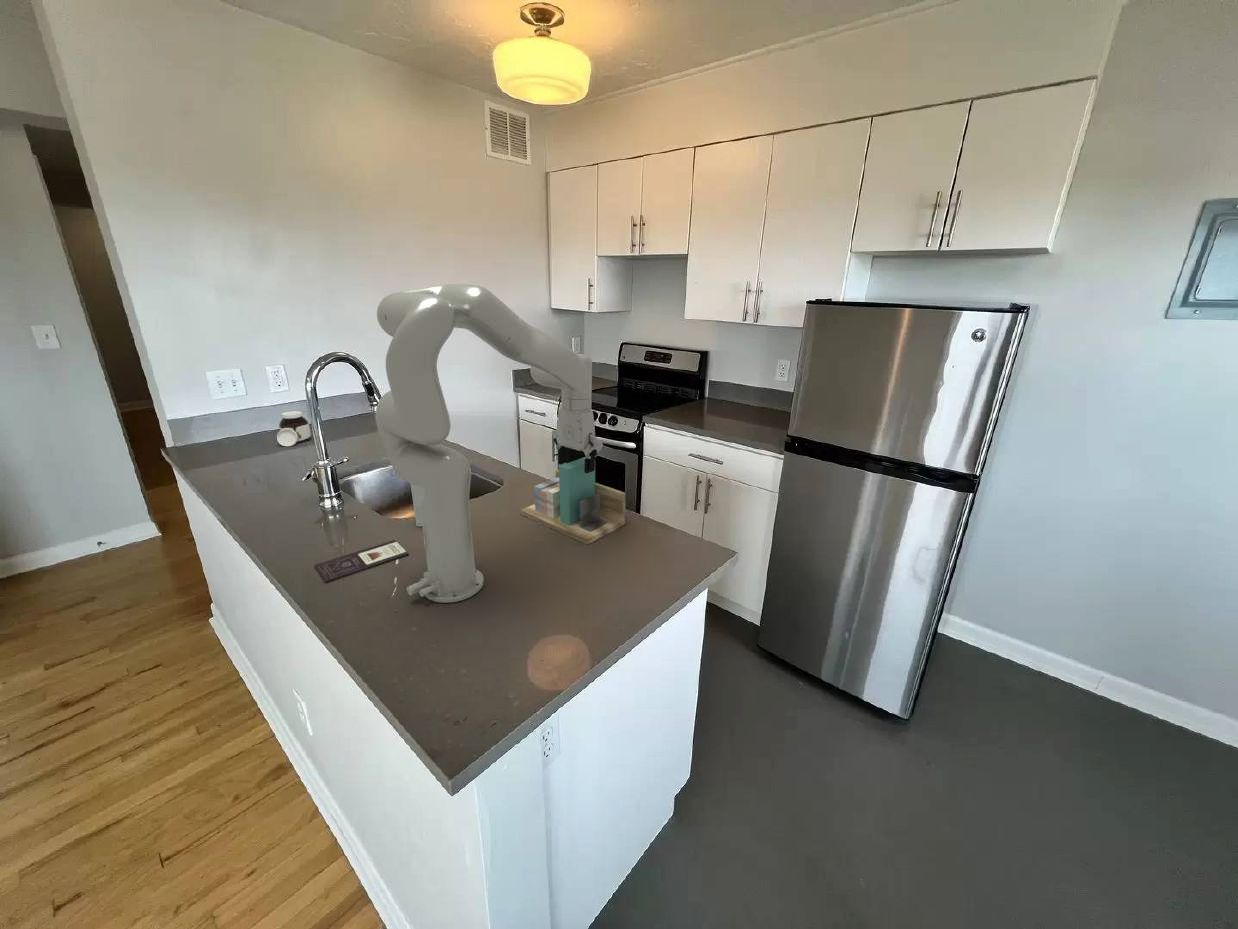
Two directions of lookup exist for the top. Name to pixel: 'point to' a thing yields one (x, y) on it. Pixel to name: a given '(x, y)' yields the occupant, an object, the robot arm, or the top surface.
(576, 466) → the book
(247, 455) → the top surface
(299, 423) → the spread jar
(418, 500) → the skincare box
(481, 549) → the top surface
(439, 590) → the robot arm
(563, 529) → the shelf
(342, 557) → the chocolate bar
